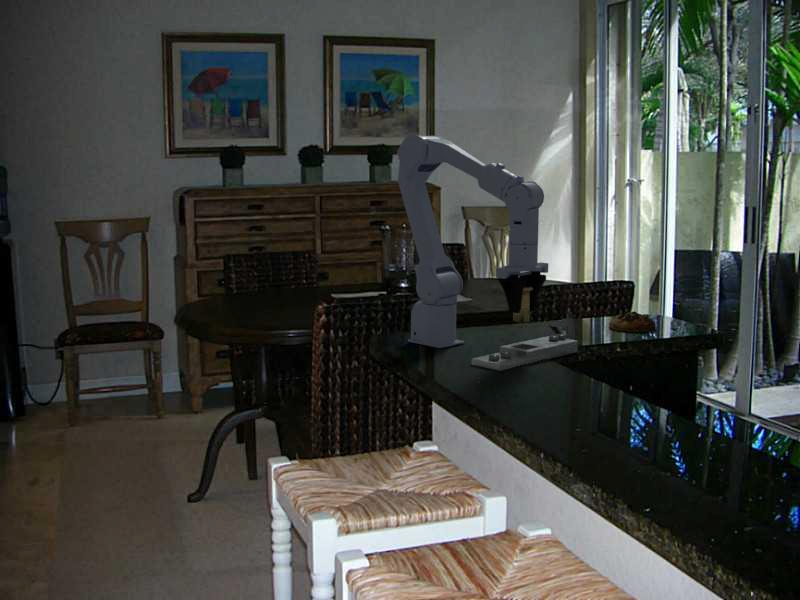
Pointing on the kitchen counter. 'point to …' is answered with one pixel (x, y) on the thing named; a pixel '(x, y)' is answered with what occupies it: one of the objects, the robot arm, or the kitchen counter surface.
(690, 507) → the kitchen counter surface
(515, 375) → the kitchen counter surface
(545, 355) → the square window plate
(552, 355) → the right chain end
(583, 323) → the kitchen counter surface
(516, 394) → the kitchen counter surface
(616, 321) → the bread roll
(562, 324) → the caliper
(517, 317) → the pin
